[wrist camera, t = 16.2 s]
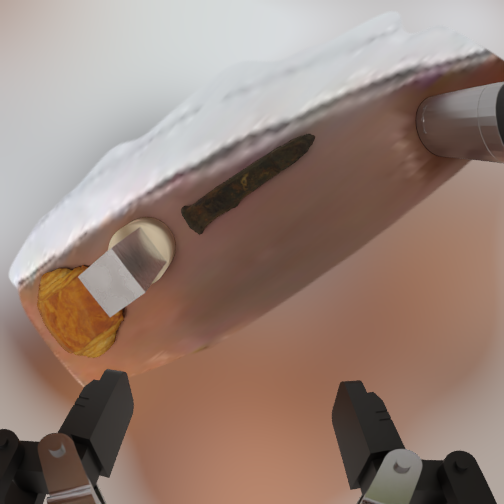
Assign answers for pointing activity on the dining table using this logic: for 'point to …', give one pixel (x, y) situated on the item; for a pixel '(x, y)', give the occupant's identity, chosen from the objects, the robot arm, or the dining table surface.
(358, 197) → the dining table surface
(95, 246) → the dining table surface
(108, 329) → the croissant
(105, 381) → the robot arm
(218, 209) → the hand tool
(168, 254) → the cream rounded block
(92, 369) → the dining table surface
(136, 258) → the light grey block
